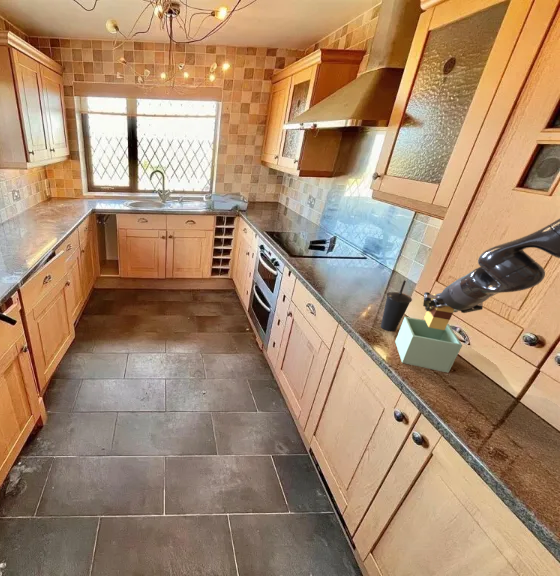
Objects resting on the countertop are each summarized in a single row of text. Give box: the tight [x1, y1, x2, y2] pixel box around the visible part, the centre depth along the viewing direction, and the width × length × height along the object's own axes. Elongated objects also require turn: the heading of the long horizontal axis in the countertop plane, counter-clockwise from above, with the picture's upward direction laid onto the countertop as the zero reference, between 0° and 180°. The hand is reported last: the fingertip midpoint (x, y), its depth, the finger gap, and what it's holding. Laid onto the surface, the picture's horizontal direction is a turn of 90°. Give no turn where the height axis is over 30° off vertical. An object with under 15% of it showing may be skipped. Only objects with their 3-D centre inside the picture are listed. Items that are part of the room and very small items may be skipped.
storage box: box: [394, 316, 463, 374], centre depth 100 cm, size 12×12×11 cm
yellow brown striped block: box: [423, 292, 454, 330], centre depth 94 cm, size 4×6×9 cm
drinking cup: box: [380, 279, 413, 333], centre depth 112 cm, size 8×8×20 cm
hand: (436, 309), depth 96 cm, fingers closed on yellow brown striped block, 4 cm apart
